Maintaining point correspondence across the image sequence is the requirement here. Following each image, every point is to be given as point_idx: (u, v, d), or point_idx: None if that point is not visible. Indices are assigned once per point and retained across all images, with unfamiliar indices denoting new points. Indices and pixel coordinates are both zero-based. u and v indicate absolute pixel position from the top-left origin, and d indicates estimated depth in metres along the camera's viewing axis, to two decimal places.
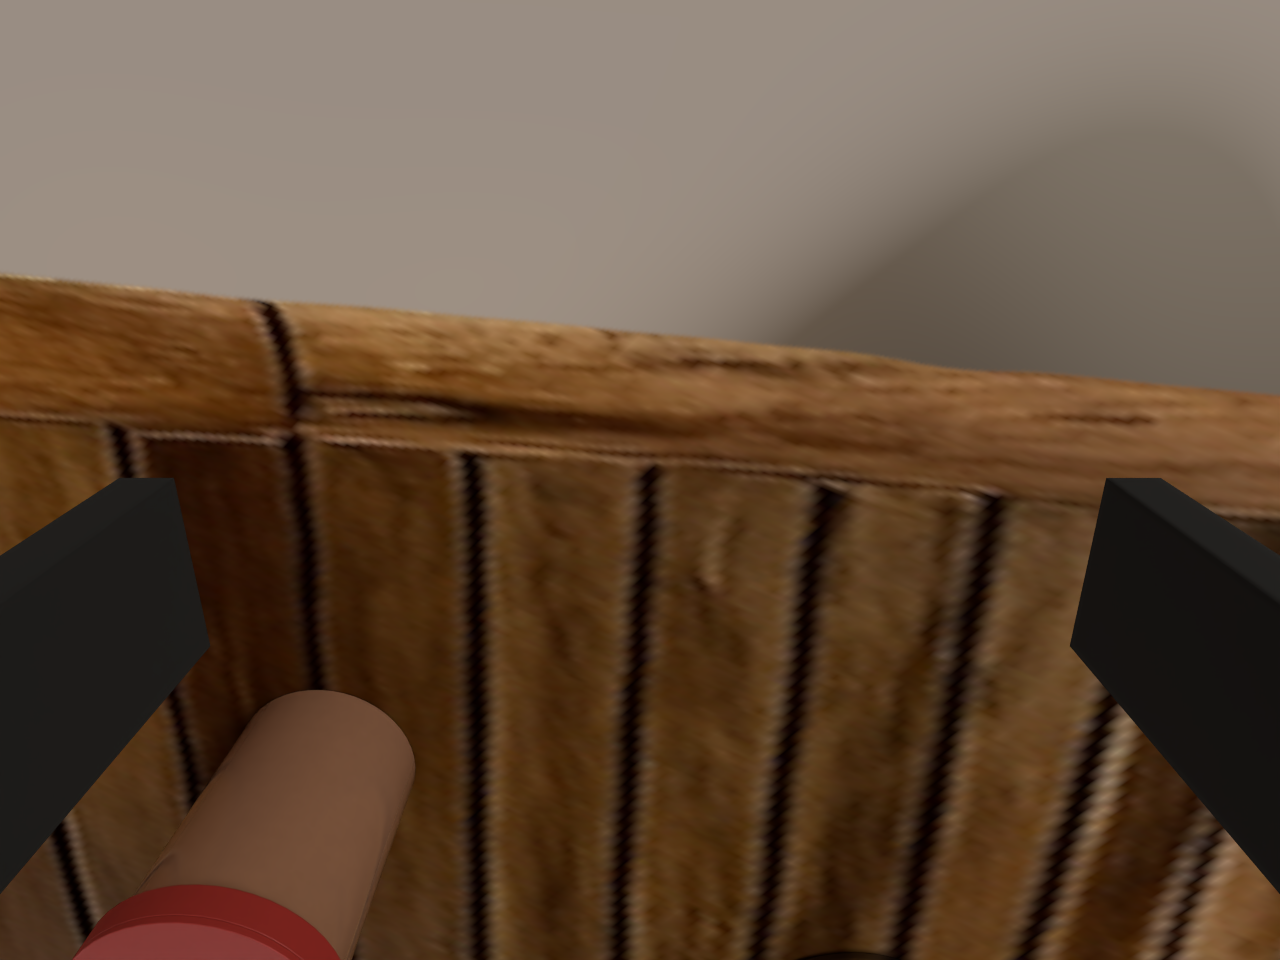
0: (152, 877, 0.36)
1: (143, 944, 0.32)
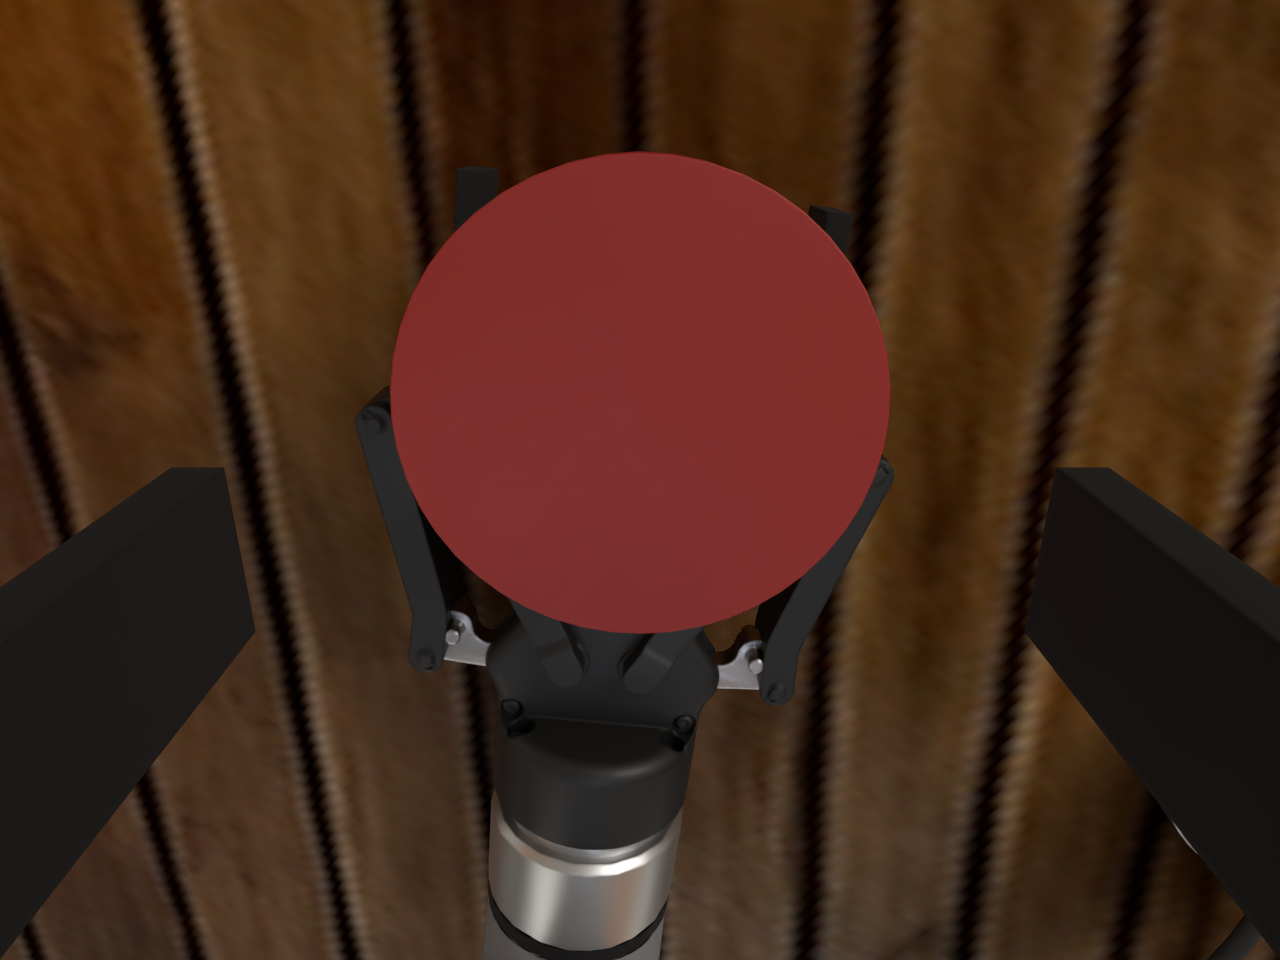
0: None
1: (567, 216, 0.17)
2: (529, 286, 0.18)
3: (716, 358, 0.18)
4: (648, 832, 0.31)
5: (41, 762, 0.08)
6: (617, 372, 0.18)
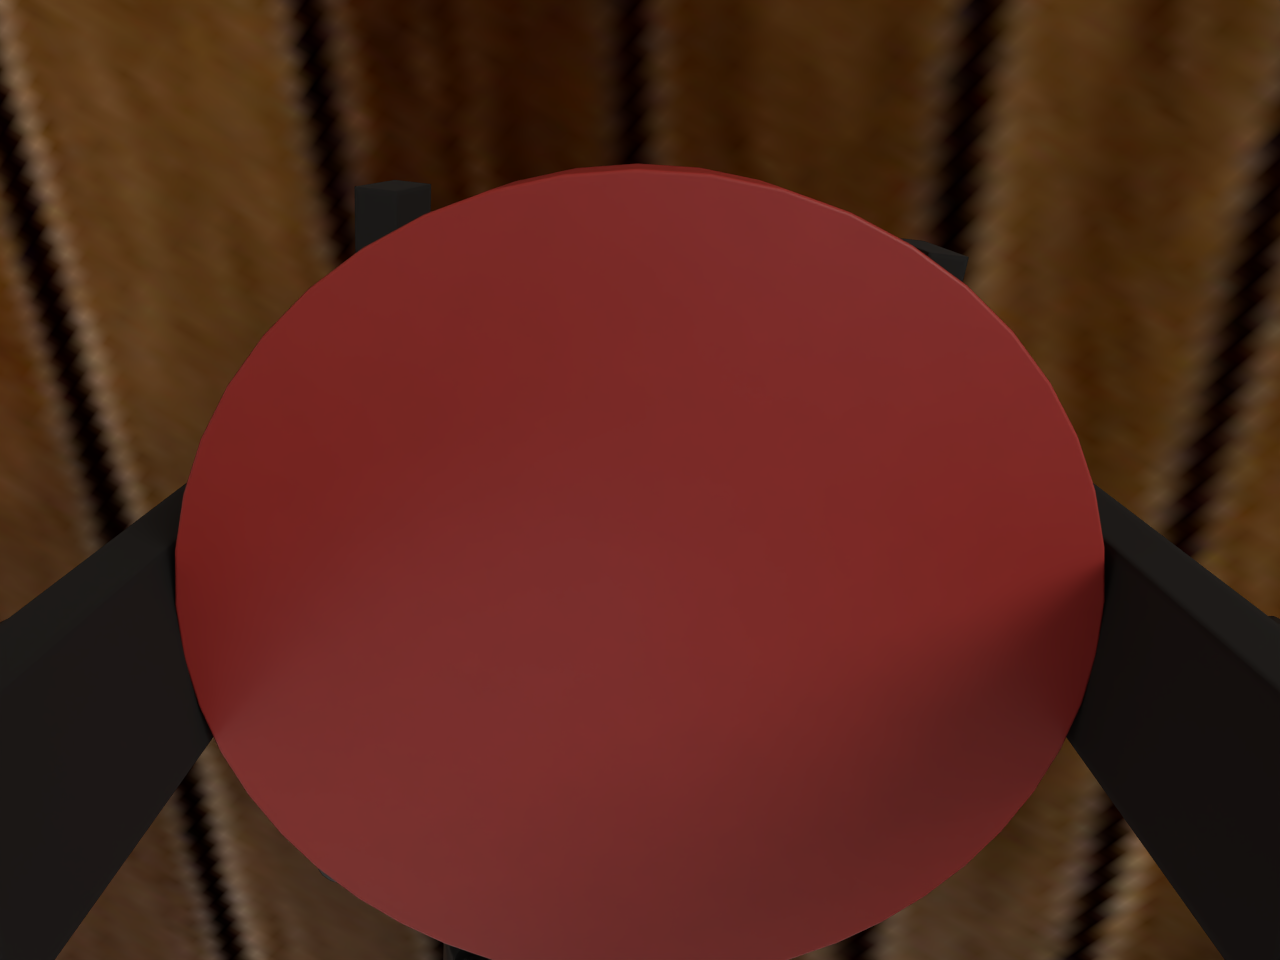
0: None
1: (495, 294, 0.09)
2: (425, 425, 0.09)
3: (783, 553, 0.10)
4: None
5: (113, 739, 0.09)
6: (597, 576, 0.10)
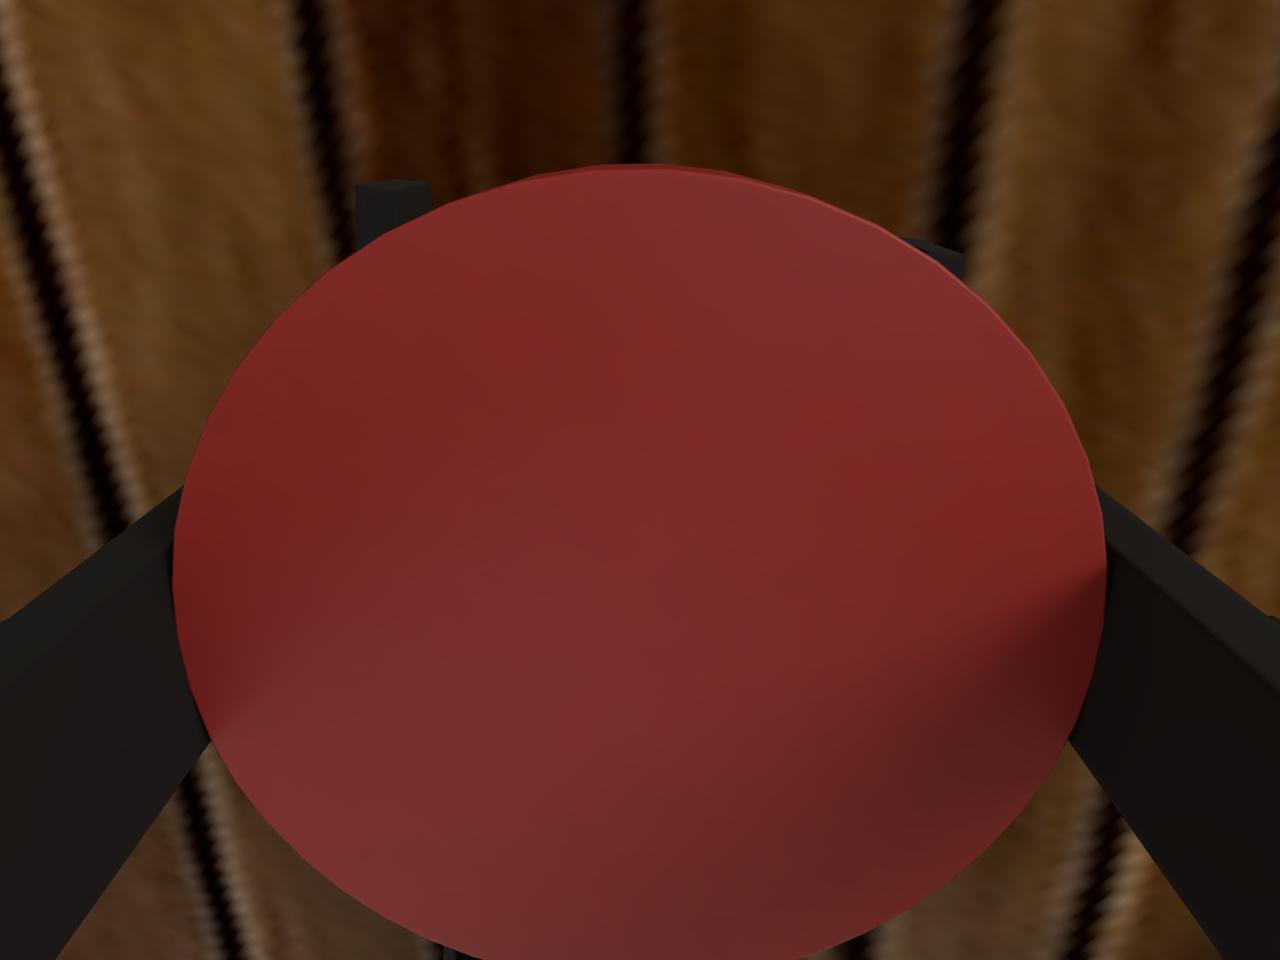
0: None
1: (272, 703, 0.10)
2: (382, 773, 0.11)
3: (544, 515, 0.09)
4: None
5: (113, 739, 0.09)
6: (545, 677, 0.10)
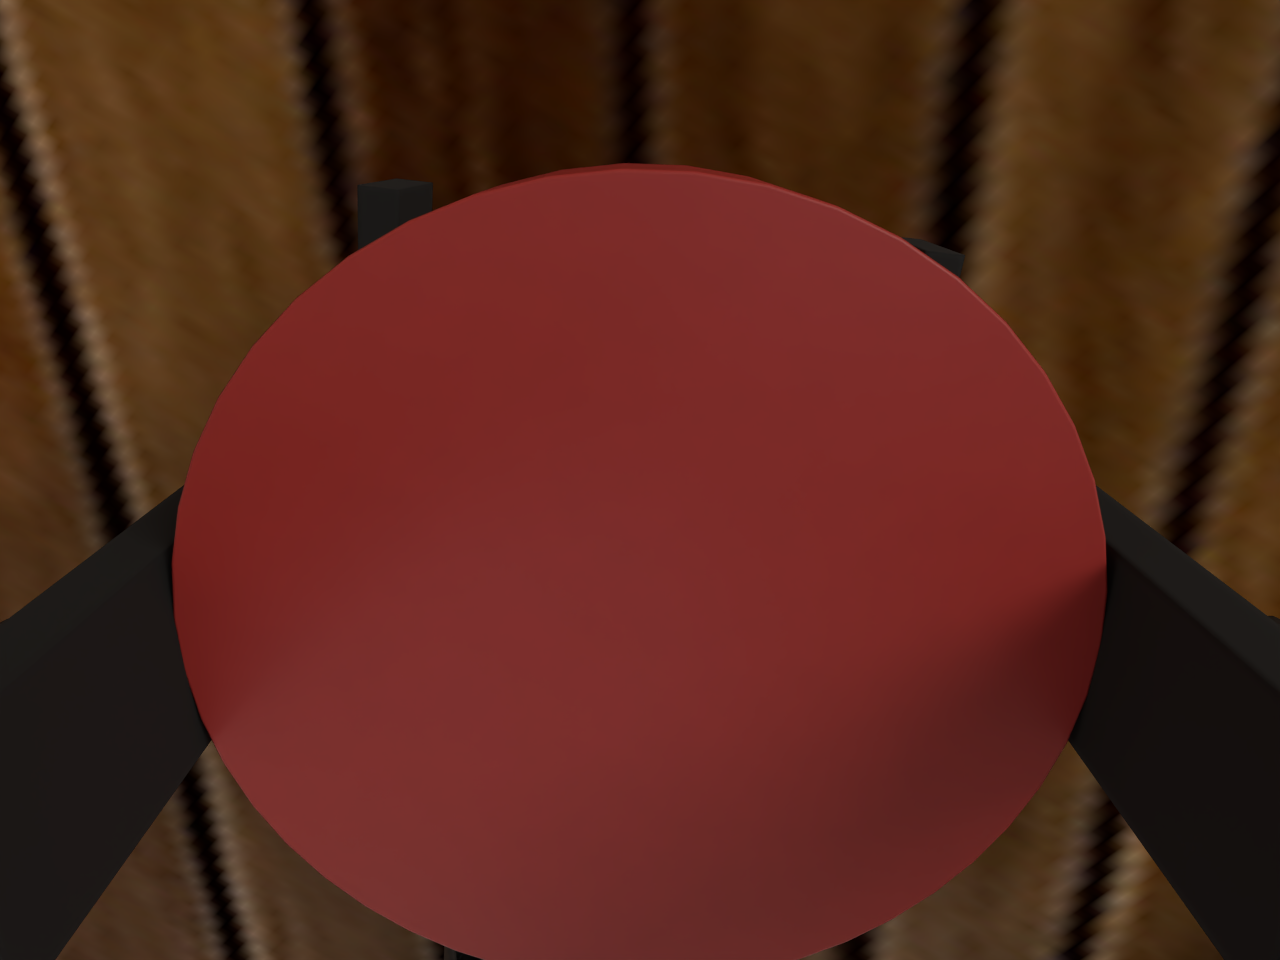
0: None
1: (627, 935, 0.12)
2: (722, 880, 0.11)
3: (474, 707, 0.10)
4: None
5: (113, 739, 0.09)
6: (645, 736, 0.11)
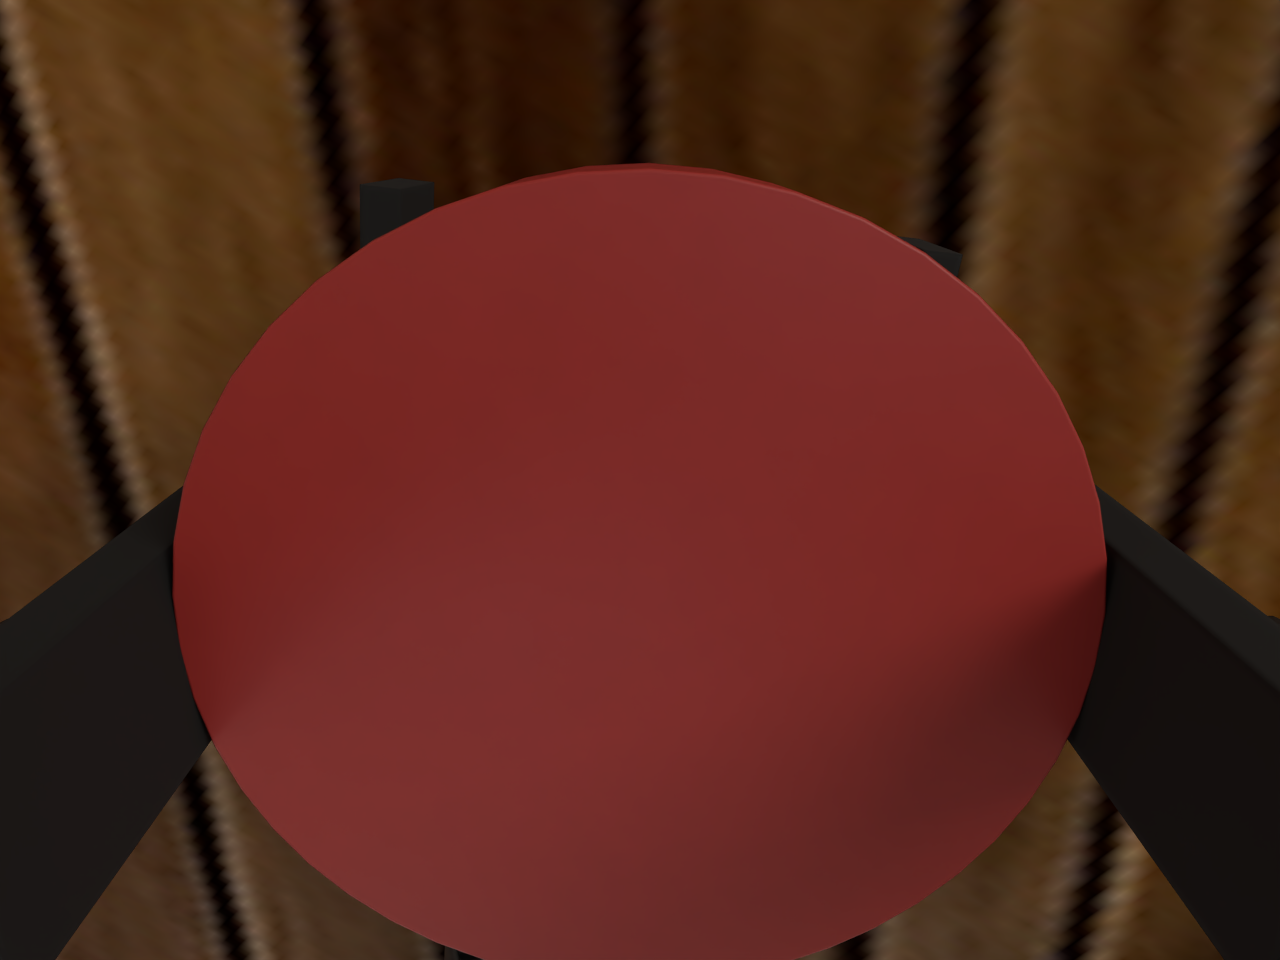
0: None
1: (997, 725, 0.10)
2: (951, 624, 0.10)
3: (664, 798, 0.11)
4: None
5: (113, 738, 0.09)
6: (736, 666, 0.10)
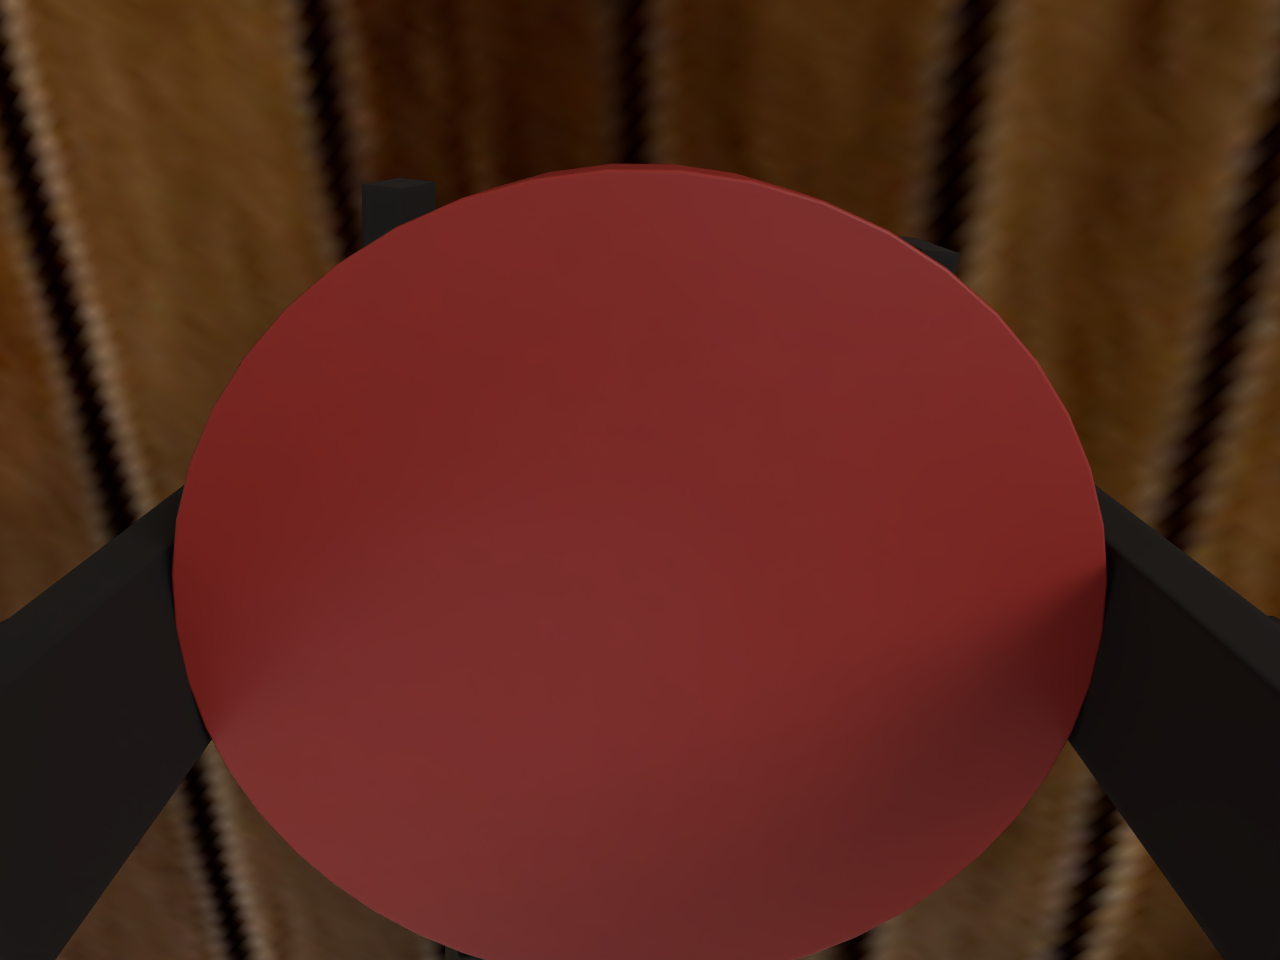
0: None
1: (814, 306, 0.09)
2: (660, 353, 0.09)
3: (818, 663, 0.10)
4: None
5: (113, 738, 0.09)
6: (669, 574, 0.10)
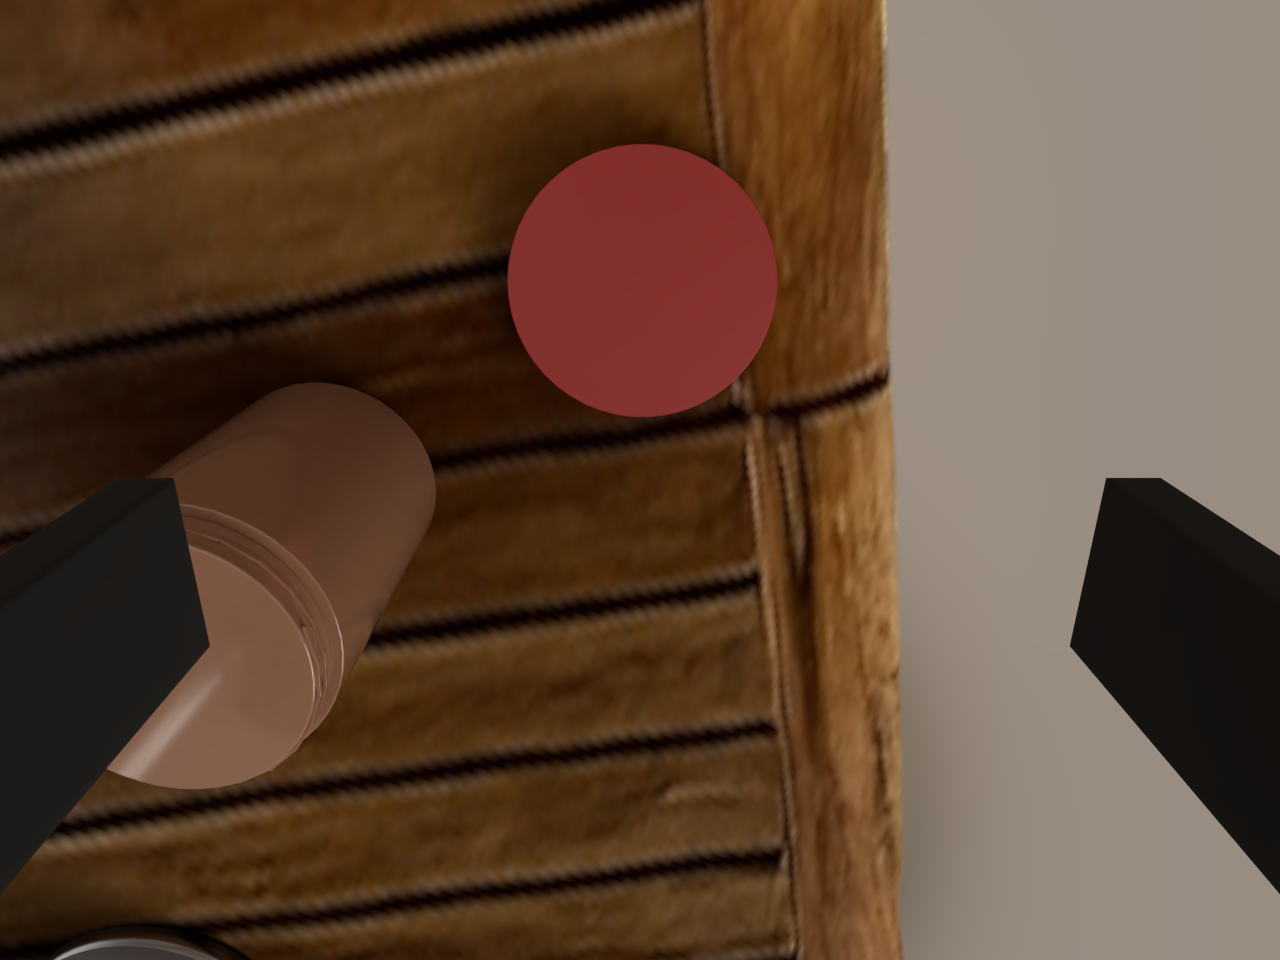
0: (292, 519, 0.27)
1: (688, 180, 0.33)
2: (648, 193, 0.33)
3: (694, 290, 0.35)
4: None
5: None
6: (650, 260, 0.34)
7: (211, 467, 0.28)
